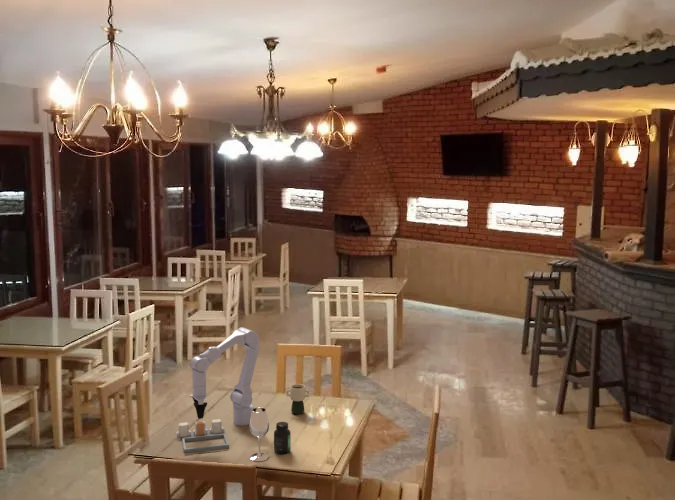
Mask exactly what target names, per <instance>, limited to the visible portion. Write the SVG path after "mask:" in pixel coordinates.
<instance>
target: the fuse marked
mask: <svg viewBox="0 0 675 500" xmlns="http://www.w3.org/2000/svg"><path fill="white" fill-rule="evenodd" d="M205 421H206V420H197V421H195V422H194V423H195V424H194V425H195V426H194V430H195V433H196V435H204V434H205V429H206V422H205Z"/></svg>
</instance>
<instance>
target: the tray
mask: <svg viewBox="0 0 675 500" xmlns="http://www.w3.org/2000/svg"><path fill="white" fill-rule="evenodd" d="M220 438H221V439H223V440H224V444H223V443H222V444H217V445H215V444H214V445H207V446H198V447H197V446H196V447H186V442H195V441H204V440H212V439H220ZM181 439H182V441H181V442H182V448H183V454H185V453H187V454H186V456H193V455H194V452H199V453H195V455H200V454H201V455H202V454H203V452H204V454H209V453H210V454H211V453H212V450H213V453H218V452H219V453H220V452H221V449H225V450H222V452H226V451H227V452H228V451H229V448H230V445H229V441H228V438H227V434H216V435H206V436H197V437H187V438H181ZM214 450H216V451H214ZM217 450H218V451H217ZM205 451H206V452H205ZM207 451H208V452H207Z"/></svg>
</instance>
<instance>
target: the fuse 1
mask: <svg viewBox="0 0 675 500" xmlns="http://www.w3.org/2000/svg"><path fill="white" fill-rule="evenodd" d="M189 427H190V425H189V421H188V422H178V433H179V437H186V436H189V430H190V429H189Z"/></svg>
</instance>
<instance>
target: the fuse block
mask: <svg viewBox="0 0 675 500" xmlns="http://www.w3.org/2000/svg"><path fill="white" fill-rule="evenodd" d="M216 434H226V430H225V428H224V426H222V433H215V434H212V427H210V428H209V429H208V428H206V427H205V434H204V435H196V433H195V429H193V431H191V430H190V429H189V436H186V437H179V430H178V431H176V433H175V434H174V435H175V436H174V437H175V440H179V439H182V438H187V437H197V436H206V435H216ZM226 435H227V434H226Z"/></svg>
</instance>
